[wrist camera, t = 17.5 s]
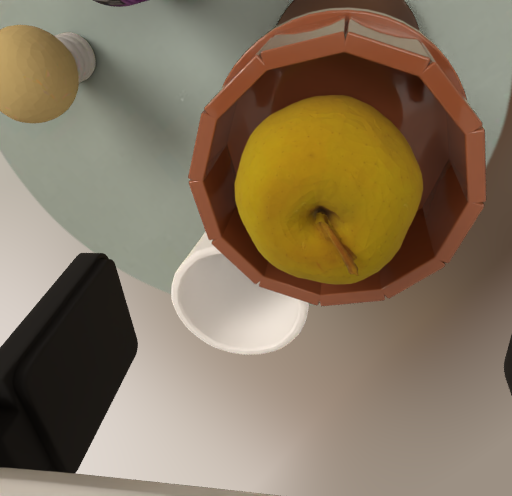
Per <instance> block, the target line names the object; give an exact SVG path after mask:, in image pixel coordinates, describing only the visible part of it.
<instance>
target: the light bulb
mask: <svg viewBox="0 0 512 496" xmlns="http://www.w3.org/2000/svg"><path fill="white" fill-rule="evenodd" d="M95 64H96V61H95V55H94V52H93V50H92V48H91V46H90V45H89V43H88V42H87V41H86V40H85V39H84V38H82V37H81V36H79V35H77V34H75V33H71V32H65V33H61V34H59V35H55V36H53V35H52V34H50V33H49V32H46V31H44V30H42V29H40V28H37V27H33V26H27V25H14V26H8V27H5V28H3V29H1V30H0V111H1V112H2V113H4V114H5V115H7V116H8V117H10V118H12V119H14V120H16V121H20V122H25V123H42V122H47V121H49V120H52V119H55V118H57V117H58V116H60V115H62V114H63V113H64V112H65V111H66V110H68V109H69V107H70V106H71V105H72V103H73V101H74V100H75V97H76V94H77V91H78V85H79V83H80V82H82V81H84V80H86V79H88V78H89V77H90V76H91V75H92V73H93V72H94V69H95Z"/></svg>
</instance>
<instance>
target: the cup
mask: <svg viewBox="0 0 512 496" xmlns="http://www.w3.org/2000/svg"><path fill="white" fill-rule="evenodd" d="M211 243H212V240H209V239H208V236H207V233H206V232H205V233H204V235H203V236H202V237H201V239H200V240H199V241H198V243H197V244H196V245H195V247H194V248H193V249H192V251H191V252H190V253H189V255H188V256H187V257H186V259H185V260H184V261H183V263H182V264H181V266H180V267H179V269H178V270H177V271H176V273H175V275H174V279H173V283H172V287H171V294H172V303H173V306H174V308H175V310H176V312H177V314H178V316H179V318H180V319H181V320H182V322H183V323H184V325H185V326H186V327H187V328H188V329H189V330H190V331H191V332H192V333H193V334H194V335H196V336H197V337H198V338H199V339H201V340H202V341H204V342H206V343H207V344H209V345H210V346H212V347H214V348H217V349H221V350H224V351H227V352H231V353H237V354H244V355H252V354H264V353H268V352H273V351H277V350H279V349H281V348H282V347H284V346H286V345H287V344H289V343H290V342H291V341H292V340H293V339H294V338H295V337H296V336H297V335H298V334H300V332H301V330H302V328H303V326H304V324H305V322H306V318H307V313H308V308H309V303H308V302H304V301H301V300H298V299H295V298H292V297H289V296H286V295H283V294H280V293H277V292H274V291H271V290H268V289H265V288H262V287H259V283H257V284H254V283H253V282H252V281H251V280H250V279H249V278H248V277H247V276H246V275H245V274H243V273H242V272H241V271H240V270H239V269H238V268H237V267H236V266H235V265H234V264H233V263H232V262H230V261H229V260H228V259H227V258H226V257H225V256H224V255H223V254H222V253H221V252H220V251H219V250H218V249H216V248H215V247H214V246H213V245H212V244H211Z"/></svg>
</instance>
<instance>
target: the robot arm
mask: <svg viewBox="0 0 512 496" xmlns="http://www.w3.org/2000/svg"><path fill="white" fill-rule="evenodd" d="M137 348H138V342H137V337H136V334H135V331H134V327H133V324H132V320H131V317H130V314H129V310H128V307H127V303H126V300H125V297H124V293H123V290H122V286H121V283H120V279H119V276H118V273H117V270H116V266H115V263H114V261H113V260H111V259H108V257H107V256H106V255H105V254H103V253H80V254H79V255H78V256H77V257H76V258H75V259H74V260H73V262H72V263H71V264H70V265H69V266H68V268H67V269H66V270H65V271H64V272H63V273H62V275H61V276H60V277H59V278H58V279H57V281H56V282H55V283H54V284H53V285H52V287H51V288H50V289H49V290H48V291H47V293H46V294H45V295H44V296H43V297H42V298H41V300H40V301H39V302H38V303H37V304H36V306H35V307H34V308H33V309H32V311H31V312H30V313H29V314H28V315H27V316H26V318H25V319H24V320H23V321H22V322H21V324H20V325H19V326H18V327H17V328H16V329H15V331H14V332H13V333H12V334H11V335H10V337H9V338H8V339H7V340H6V341H5V343H4V344H3V345H2V346H1V347H0V496H278V495H270V494H261V493H252V492H243V491H234V490H225V489H215V488H206V487H197V486H188V485H179V484H169V483H160V482H150V481H141V480H131V479H121V478H112V477H102V476H93V475H84V474H75V473H76V471H77V470H78V468H79V466H80V464H81V462H82V460H83V458H84V456H85V454H86V452H87V450H88V448H89V446H90V445H91V443H92V440H93V439H94V436H95V435H96V433H97V430H98V429H99V427H100V425H101V423H102V421H103V419H104V417H105V415H106V413H107V411H108V409H109V407H110V405H111V402H112V401H113V399H114V397H115V395H116V393H117V391H118V389H119V387H120V385H121V383H122V381H123V379H124V377H125V375H126V373H127V371H128V369H129V367H130V365H131V363H132V361H133V359H134V357H135V355H136V352H137ZM504 372H505V377H506V380H507V383H508V386H509V389H510V392H511V395H512V335H511V339H510V343H509V346H508V350H507V354H506V357H505V362H504Z"/></svg>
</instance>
